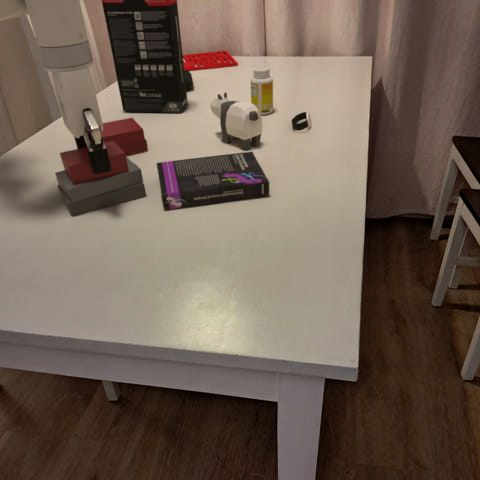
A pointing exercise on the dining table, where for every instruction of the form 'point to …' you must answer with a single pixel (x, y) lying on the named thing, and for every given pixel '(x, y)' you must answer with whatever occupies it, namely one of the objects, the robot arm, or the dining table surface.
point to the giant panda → (238, 121)
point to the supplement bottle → (262, 90)
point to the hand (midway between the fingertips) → (95, 162)
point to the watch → (304, 124)
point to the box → (211, 180)
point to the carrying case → (188, 80)
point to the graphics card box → (147, 54)
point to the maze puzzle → (208, 60)
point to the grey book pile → (101, 190)
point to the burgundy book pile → (125, 135)
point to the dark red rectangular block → (81, 168)
